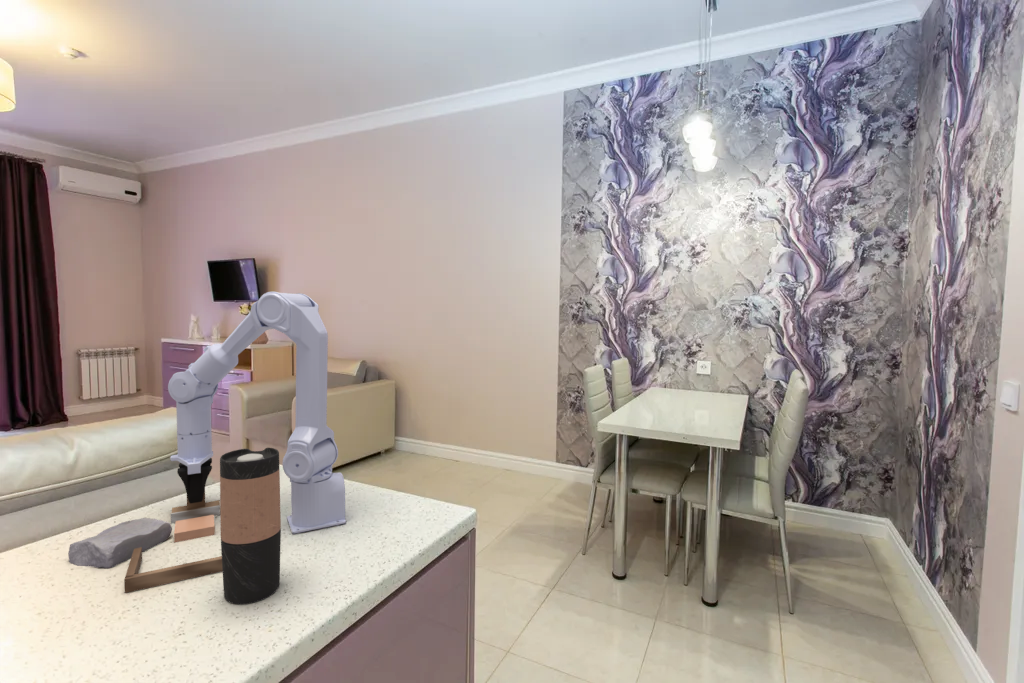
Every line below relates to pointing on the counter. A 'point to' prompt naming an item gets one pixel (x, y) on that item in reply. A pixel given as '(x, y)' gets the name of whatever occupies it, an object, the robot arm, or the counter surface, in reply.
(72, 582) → the counter surface
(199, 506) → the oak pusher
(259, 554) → the travel mug
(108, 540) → the stone block
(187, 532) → the terracotta tile
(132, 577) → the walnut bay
